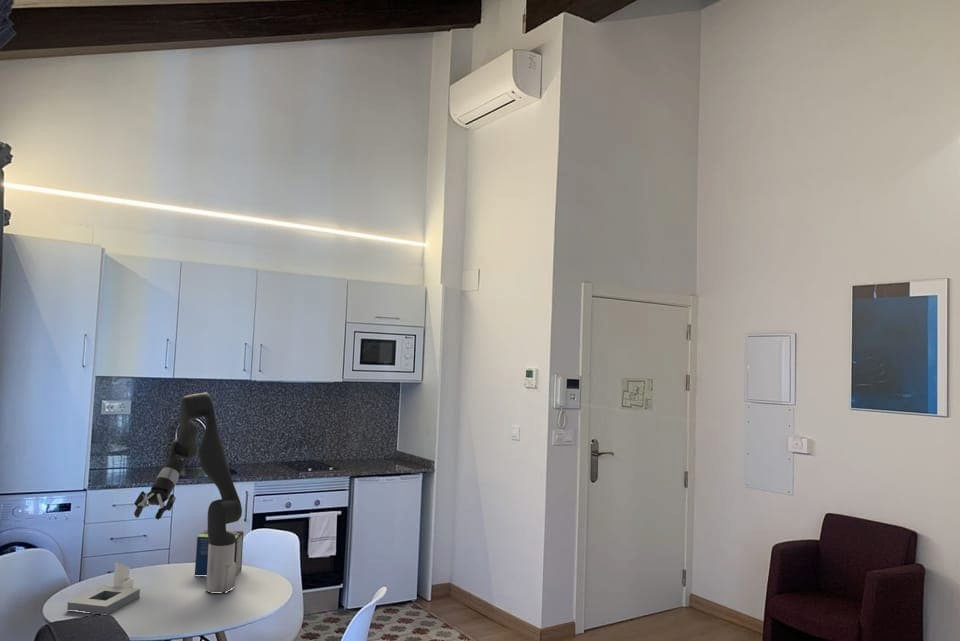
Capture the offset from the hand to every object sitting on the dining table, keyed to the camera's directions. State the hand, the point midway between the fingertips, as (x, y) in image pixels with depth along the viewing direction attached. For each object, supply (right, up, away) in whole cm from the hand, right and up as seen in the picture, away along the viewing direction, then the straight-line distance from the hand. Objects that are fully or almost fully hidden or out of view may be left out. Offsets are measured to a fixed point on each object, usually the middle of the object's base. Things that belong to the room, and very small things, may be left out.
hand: (146, 517), depth 275 cm
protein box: (+24, -25, +10) cm, 36 cm away
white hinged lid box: (-3, -23, -12) cm, 26 cm away
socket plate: (-1, -22, -29) cm, 36 cm away
